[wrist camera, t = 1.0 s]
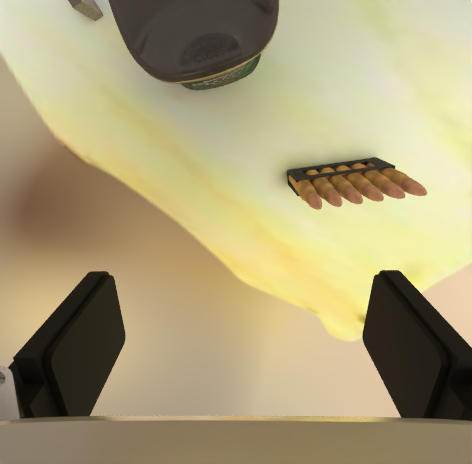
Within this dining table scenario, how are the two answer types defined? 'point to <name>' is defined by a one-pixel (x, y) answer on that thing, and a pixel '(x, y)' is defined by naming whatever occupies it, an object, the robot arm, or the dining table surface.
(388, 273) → the robot arm
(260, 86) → the dining table surface
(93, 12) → the hinge
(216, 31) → the coffee jar
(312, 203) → the ammunition clip
